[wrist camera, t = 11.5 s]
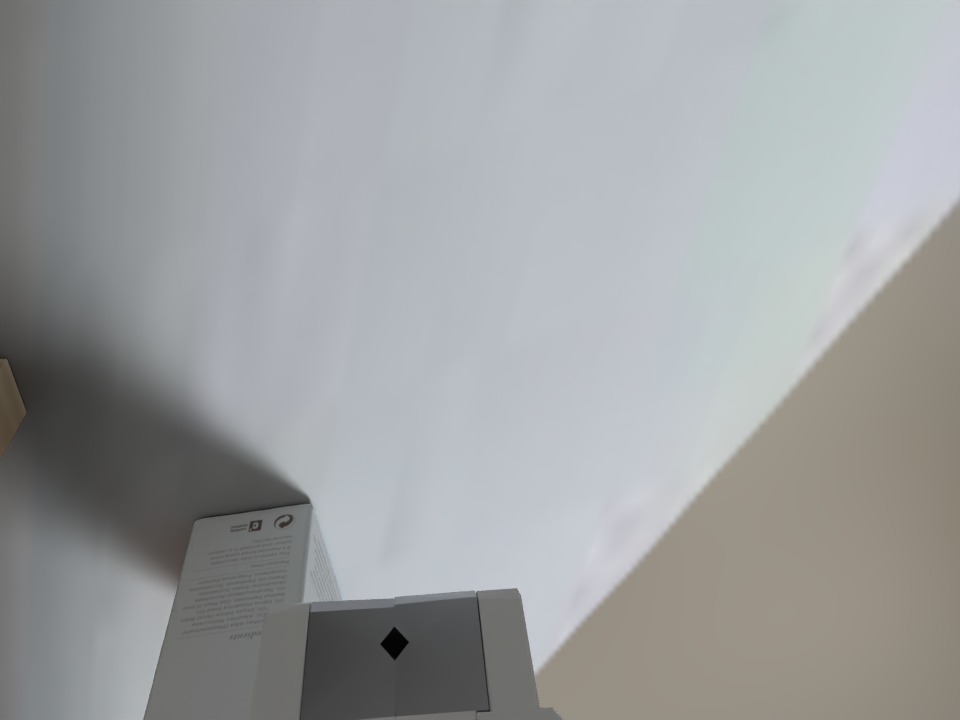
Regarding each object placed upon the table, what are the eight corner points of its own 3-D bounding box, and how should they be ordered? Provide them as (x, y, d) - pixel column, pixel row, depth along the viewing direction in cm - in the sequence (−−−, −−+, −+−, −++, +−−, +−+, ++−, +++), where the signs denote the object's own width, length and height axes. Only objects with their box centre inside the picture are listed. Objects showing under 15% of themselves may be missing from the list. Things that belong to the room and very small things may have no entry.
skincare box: (190, 516, 29) (89, 892, 19) (313, 498, 29) (277, 863, 19) (238, 629, 33) (174, 998, 23) (349, 613, 33) (333, 974, 23)
